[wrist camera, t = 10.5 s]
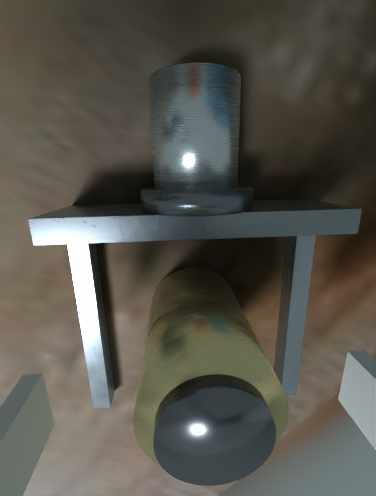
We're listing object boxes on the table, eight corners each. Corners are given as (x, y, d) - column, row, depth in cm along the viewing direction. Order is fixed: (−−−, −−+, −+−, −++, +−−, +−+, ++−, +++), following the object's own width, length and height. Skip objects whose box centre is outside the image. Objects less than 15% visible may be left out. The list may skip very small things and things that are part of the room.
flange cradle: (55, 98, 14) (-20, 48, 9) (318, 96, 15) (404, 50, 9) (99, 391, 20) (71, 475, 14) (287, 379, 21) (329, 454, 15)
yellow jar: (149, 268, 17) (122, 378, 8) (235, 264, 18) (307, 367, 8) (154, 342, 19) (137, 506, 10) (232, 338, 19) (290, 492, 10)
